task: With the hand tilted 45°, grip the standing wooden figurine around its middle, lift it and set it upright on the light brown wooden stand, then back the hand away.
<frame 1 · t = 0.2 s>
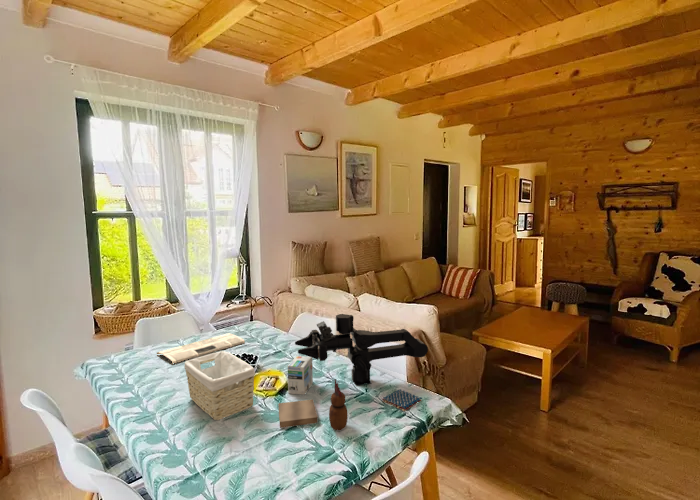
hand: (296, 347, 147), 17 cm above the table, tool horizontal, fingers open, 9 cm apart
storage basket: (220, 404, 139), on the table
light bulb box: (300, 388, 150), on the table
light brown wooden stand: (297, 415, 130), on the table
wooden figurine: (338, 427, 123), on the table
woven mat: (401, 403, 139), on the table
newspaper: (201, 349, 194), on the table
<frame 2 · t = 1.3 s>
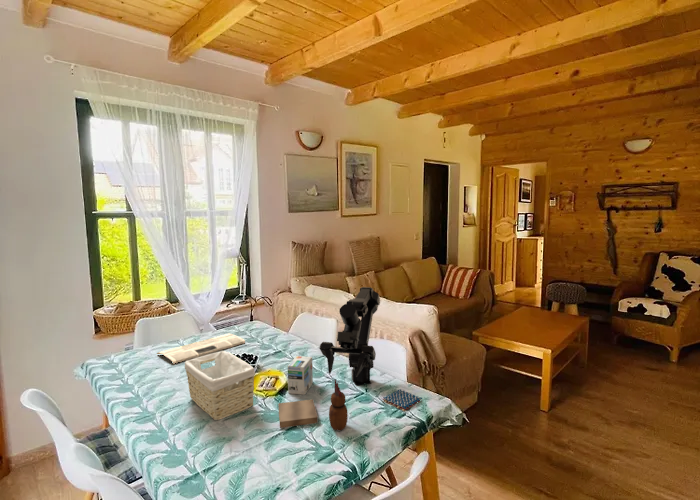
hand: (342, 374, 129), 14 cm above the table, tool tilted 45°, fingers open, 9 cm apart
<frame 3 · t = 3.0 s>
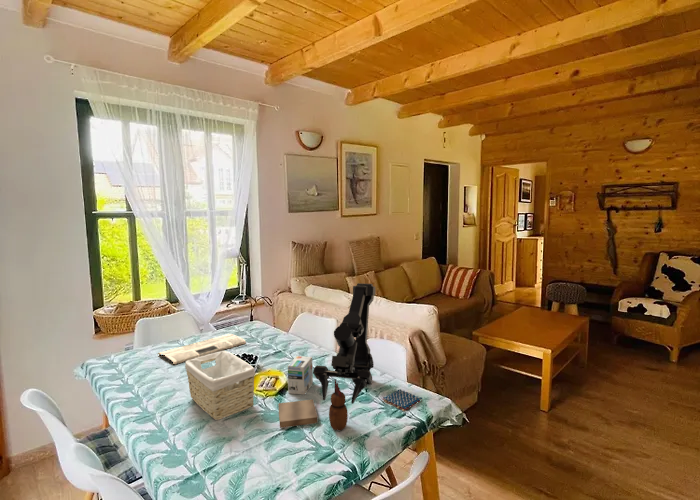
hand: (337, 401, 122), 9 cm above the table, tool tilted 45°, fingers open, 9 cm apart
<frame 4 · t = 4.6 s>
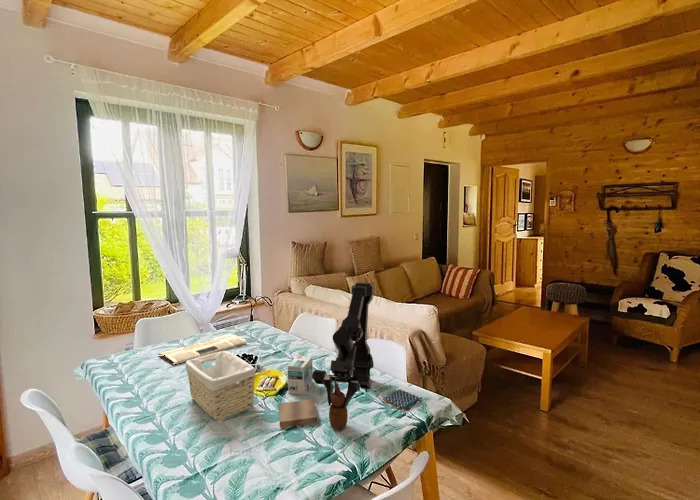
hand: (336, 406, 121), 8 cm above the table, tool tilted 45°, fingers closed on wooden figurine, 5 cm apart
wooden figurine: (338, 427, 123), on the table, touching gripper
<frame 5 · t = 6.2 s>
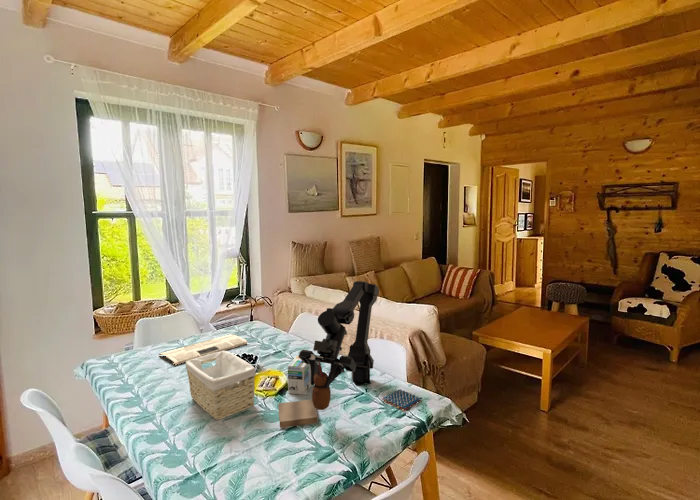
hand: (318, 386, 122), 13 cm above the table, tool tilted 45°, fingers closed on wooden figurine, 5 cm apart
wooden figurine: (321, 407, 124), point 5 cm above the table, touching gripper
when the fingers open (11 cm above the table, at t = 8.2 s): wooden figurine drops 1 cm, resting on light brown wooden stand.
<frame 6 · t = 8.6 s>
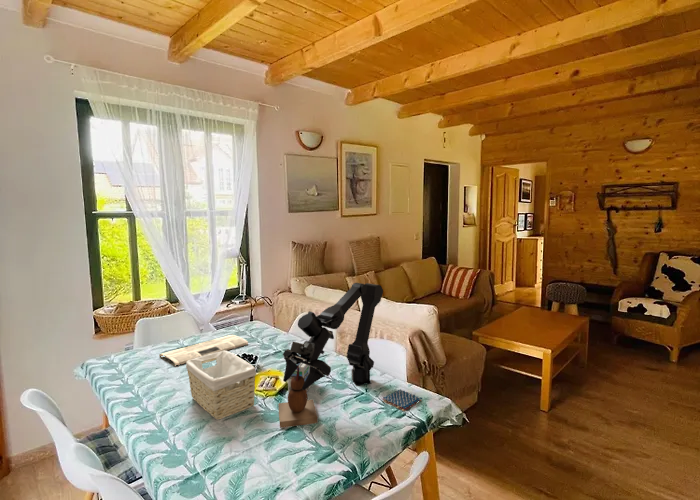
hand: (293, 385, 128), 11 cm above the table, tool tilted 45°, fingers open, 9 cm apart
wooden figurine: (297, 410, 130), point 2 cm above the table, touching light brown wooden stand
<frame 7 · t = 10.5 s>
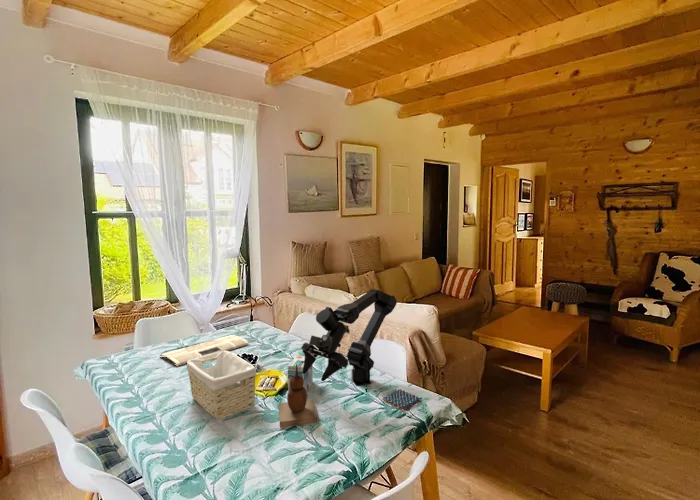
hand: (312, 377, 134), 11 cm above the table, tool tilted 45°, fingers open, 9 cm apart
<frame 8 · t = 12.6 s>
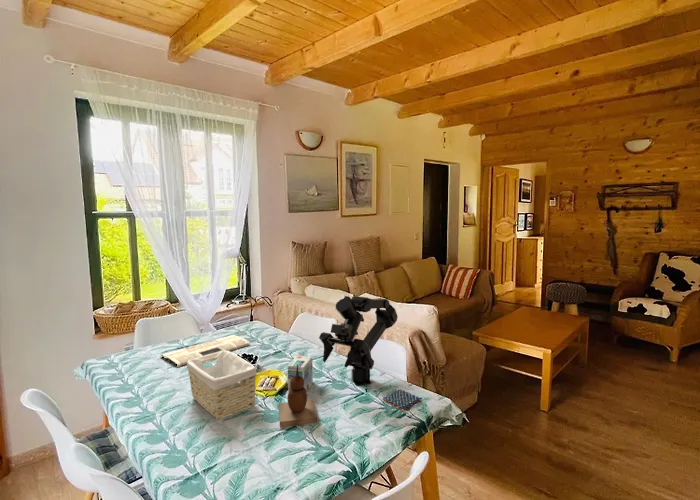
hand: (334, 364, 138), 14 cm above the table, tool tilted 45°, fingers open, 9 cm apart
at the end: wooden figurine inside the target area on the light brown wooden stand (0.1 cm from its centre), point 1.8 cm above the light brown wooden stand's base; wooden figurine tilted 0°; the gripper is holding nothing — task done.
